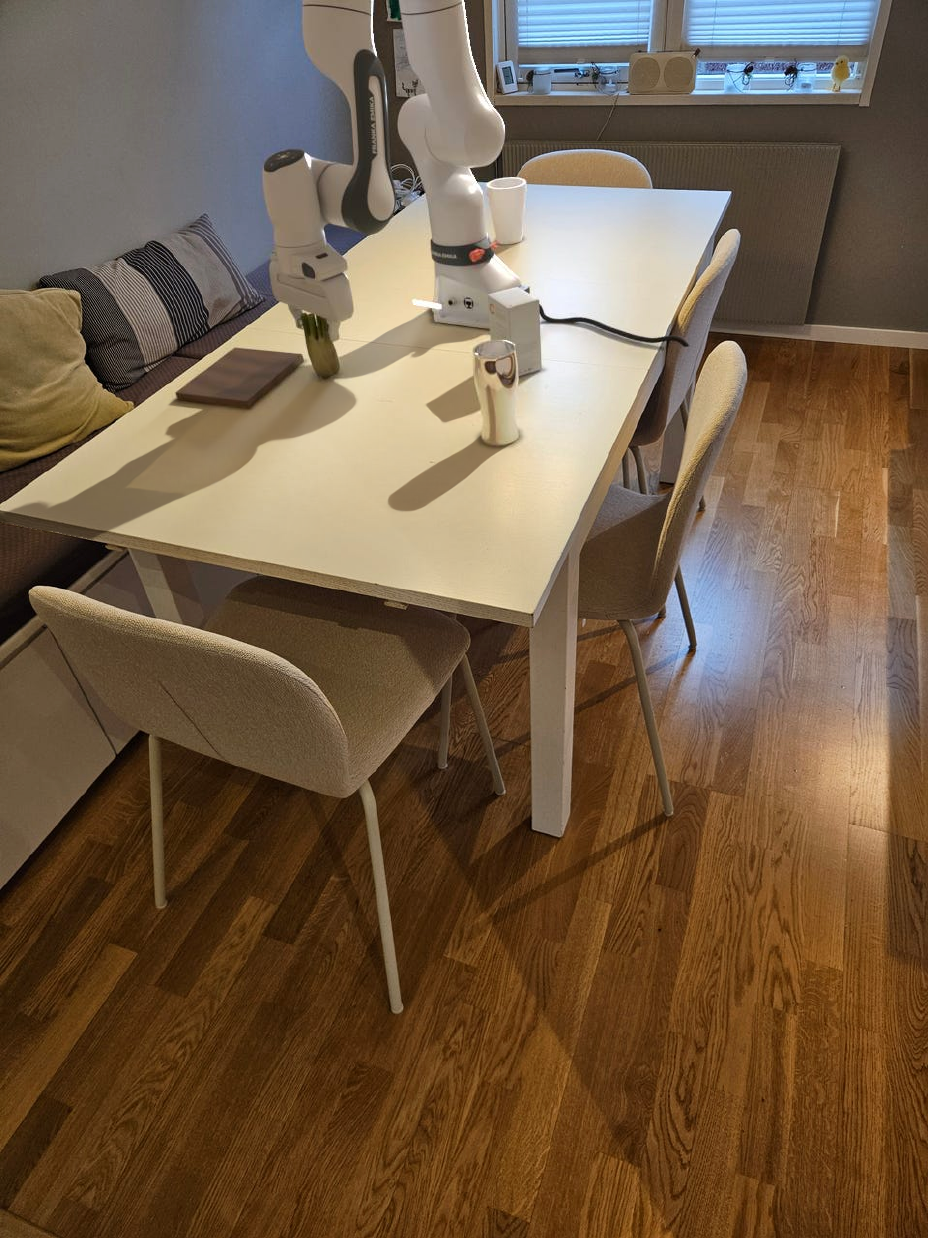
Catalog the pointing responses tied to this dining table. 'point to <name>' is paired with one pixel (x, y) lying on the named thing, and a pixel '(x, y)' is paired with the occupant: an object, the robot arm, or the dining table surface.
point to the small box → (517, 325)
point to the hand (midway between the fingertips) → (318, 333)
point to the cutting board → (240, 377)
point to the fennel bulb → (320, 346)
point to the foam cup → (507, 208)
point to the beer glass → (497, 390)
